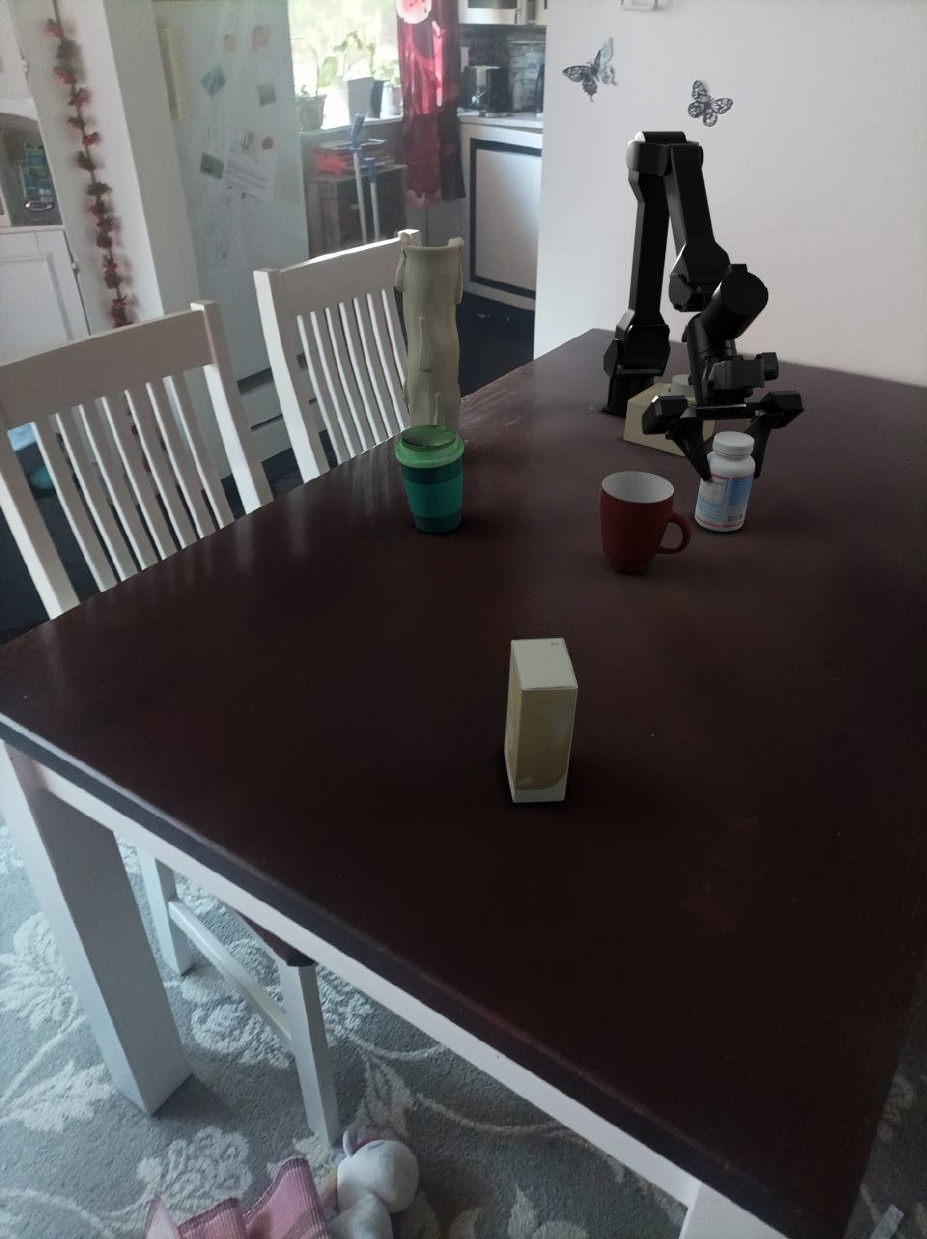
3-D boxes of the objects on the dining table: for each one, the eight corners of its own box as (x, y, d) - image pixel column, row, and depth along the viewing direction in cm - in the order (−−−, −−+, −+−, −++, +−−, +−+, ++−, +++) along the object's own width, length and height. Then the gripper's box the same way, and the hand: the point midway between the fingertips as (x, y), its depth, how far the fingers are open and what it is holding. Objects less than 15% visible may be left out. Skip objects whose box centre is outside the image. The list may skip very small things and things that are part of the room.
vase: (394, 461, 124) (385, 235, 107) (419, 439, 130) (414, 223, 113) (449, 471, 121) (449, 241, 104) (472, 448, 128) (475, 228, 111)
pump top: (664, 394, 126) (666, 380, 124) (677, 386, 129) (680, 372, 127) (692, 401, 124) (695, 386, 122) (705, 393, 126) (708, 378, 125)
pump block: (623, 439, 131) (629, 388, 127) (653, 420, 138) (660, 370, 133) (688, 457, 126) (697, 404, 121) (716, 436, 133) (726, 385, 128)
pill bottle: (738, 512, 112) (756, 429, 106) (746, 535, 107) (765, 449, 101) (690, 509, 112) (705, 427, 106) (696, 532, 107) (712, 447, 101)
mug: (685, 555, 103) (699, 477, 97) (682, 590, 96) (697, 510, 91) (596, 543, 105) (604, 467, 99) (587, 577, 98) (596, 498, 93)
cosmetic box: (503, 751, 75) (508, 636, 68) (552, 749, 75) (563, 634, 68) (512, 807, 70) (520, 688, 63) (566, 804, 70) (579, 685, 63)
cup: (475, 532, 107) (477, 440, 100) (416, 547, 104) (414, 454, 97) (444, 505, 113) (444, 417, 106) (387, 519, 109) (383, 429, 103)
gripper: (662, 328, 99) (681, 458, 96) (816, 323, 101) (839, 450, 98) (633, 373, 109) (649, 491, 107) (773, 368, 112) (792, 483, 109)
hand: (731, 479), depth 105 cm, fingers closed on pill bottle, 6 cm apart
